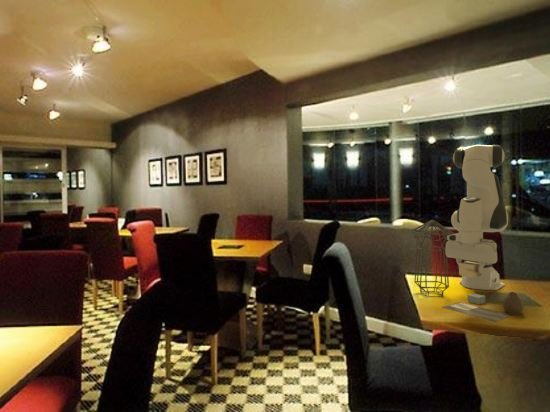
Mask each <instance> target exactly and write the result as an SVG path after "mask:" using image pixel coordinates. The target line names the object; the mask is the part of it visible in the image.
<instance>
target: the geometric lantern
mask: <svg viewBox="0 0 550 412" xmlns="http://www.w3.org/2000/svg"><path fill="white" fill-rule="evenodd" d="M429 228H430V231H428V230H429ZM433 229H434V230H433ZM439 232H442V233H441V234H440V233H439ZM411 233H412V235H413V237H414V238H415V240H416V241H415V242H416V243H419V246H418V244H416V254H415V270H414V281H413V282H414V284H415V285H417V287H418V288H419V292H420V294H422V295H423V296H425V297H428V298H429V297H432V298H433V297H434V298H435V297H436V298H437V297H438V298H441V297H444V292H445V291H446V290H448V288H450V285H449V283H450V280H449V266H448V265H449V264H448V263H449V261H448V257H447V256H446V254H445V250H446V243H447V241H448V240H447V236H448V235H452V234H455V232H453V231H452V230H450V229H448V227H446V226H444V225H442V224H441V223H439V222H438V221H436V219H435V220H434V219H431V220H430V219H429V220H428V221H427V222H424V223H423V224H421V225H419V226H417V227H416V228H414V229H411ZM428 235H430V236H428ZM437 235H438V239H435V238H434V236H437ZM441 236H443V237H441ZM420 237H423V239H422V240H420ZM425 238H426V239H429V240H430V242H428V245H427V246H425V247H424V246H423V243H424V242H425ZM443 239H444V240H443ZM442 240H443V242H442ZM437 241H438V242H440V244H441V245H440V246H437V245H436V243H435V242H437ZM431 243H433V244H434V245H435V248H436V249H427V248H429V247H430V244H431ZM444 244H445V245H444ZM427 251H430V252H431V251H432V252H433V251H435V252H436V256H435V257H436V258H435V260H436V261H435V280H427V275H428V274H427ZM438 253H439V254H438ZM442 254H443V264H442ZM423 255H424V256H423ZM438 255H439V261H440V262H439V263H440V265H439V266H440V281H438V277H437V276H438ZM423 258H424V259H423ZM420 259H421V261H420ZM423 260H424V261H423ZM423 262H424V270H425V271H424V274H425V275H424V277H425V280H422V279H423V278H422V275H423V273H422V272H423ZM442 265H443V268H444V282H443V271H442V270H443V268H442ZM419 272H420V273H419ZM419 274H420V277H419ZM422 283H425V284H424V285H425V286H422ZM428 283H435V284H434V286H427V285H428ZM437 283H439V284H438V285H437ZM441 285H444V286H441ZM440 286H441V287H440ZM425 289H426V290H425ZM429 289H433V290H429ZM438 290H439V291H438ZM430 293H438V294H439V295H430ZM427 294H428V295H427Z"/></svg>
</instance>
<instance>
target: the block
mask: <svg viewBox="0 0 550 412" xmlns="http://www.w3.org/2000/svg"><path fill="white" fill-rule="evenodd" d="M479 267H480V265H479V263H475V262H469V261H466V262H465V261H461V263H459V265H458V270H459V271H458V276H461V277H462V276H466V277H471V278H475V277H478V276H481V273H476V269H477V268H479Z"/></svg>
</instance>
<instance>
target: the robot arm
mask: <svg viewBox="0 0 550 412" xmlns="http://www.w3.org/2000/svg"><path fill="white" fill-rule="evenodd" d="M505 156H506V155H505V151H504V149H503V147H502V146H501V145H499V144H492V145H490V144H489V145H487V144H485V145H484V144H475V145H470V146H465V147H464V146H460V147H457V148H455V150H454V153H453V156H452V160H453V164H454V166H455V167H456V168H457V169H462V170H461V171H462V178H463V180H464V181H465V182H466V197H463V198H461V200H460V203H459V208H458V209H457V210H455V211H454V212H453V213H452V215H451V216H450V217H451V219H450V221H451V222H450V223H451V225H452V227H453V228H454V229H455V230H456V231H458V232H456V233H455V232H454V233H455V234H452V235H448V236H447V240H446V250H445V251H444V253H445V257H446V256H447V258H452V259H455V262H456V264H457V265H458V266H459V263H462V262H463V261H464V262H466V261H469V262H475V263H479V265H480V267H479V268H477V269H476V273H481V276H478V277H475V278H471V277H466V276H461V280H459V284H461V286H462V287H465V288H468V289H475V290H484V291H486V290H488V291H497V290H499V289H502V288H503V287H504V286H505V283H504V282H502V281H500V273H498V271H497V270H496V269H495V268H494V267H493V264H496V263H497V262H498V252H497V248H498V244H497V242H495V241H494V240H493V239H486V238H484V232H485V233H498V232H503V231H505V230H506V228H507V227H508V224H509V214H508V210H507V208H506V205H505V201H504V197H503V193H502V192H503V191H502V187H501V184H500V179H499V177H498V175H497V174H495V173H493V171H492V170H491V168H492V169H493V170H496V168H498V167H500V166H501V165H502V164H503V162H504V160H505Z"/></svg>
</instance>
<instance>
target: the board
mask: <svg viewBox="0 0 550 412" xmlns="http://www.w3.org/2000/svg"><path fill="white" fill-rule="evenodd" d="M441 308H443V309H447V310H451V311H453V312H458V313H462V314H465V315H468V316H471V317H476V318H480V319H484V320H488V321H492V322H495V323H496V322H498V321H501V320H503V319H504V320H505V319H507V318H509V317H512V316H513V315H514V314H509V313H506V312H503V311H497V310H493V309H489V308H486V307H482V306H481V307H480V306H476V305H474V304H468V303H465V302H461V301H460V302H456V303H452V304H449V305H448V304H447V305H445V306H441Z"/></svg>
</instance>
